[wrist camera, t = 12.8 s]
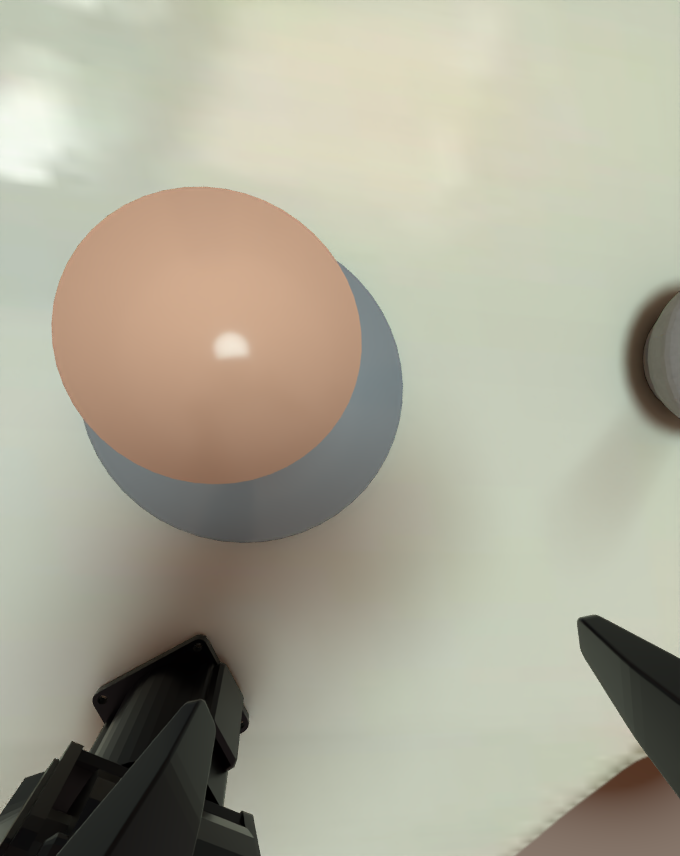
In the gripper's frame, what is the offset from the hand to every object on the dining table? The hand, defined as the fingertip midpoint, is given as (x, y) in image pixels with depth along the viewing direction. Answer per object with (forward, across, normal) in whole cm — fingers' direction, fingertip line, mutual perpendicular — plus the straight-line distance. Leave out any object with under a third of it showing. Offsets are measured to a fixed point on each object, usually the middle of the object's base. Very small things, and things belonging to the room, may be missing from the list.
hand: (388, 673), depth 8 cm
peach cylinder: (+13, +4, -6) cm, 15 cm away
